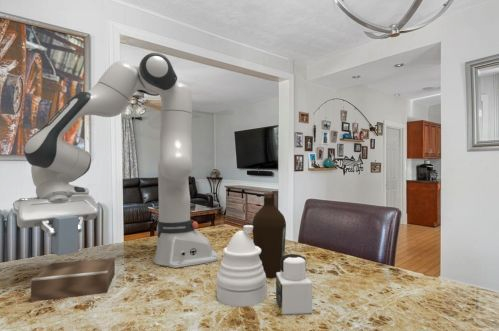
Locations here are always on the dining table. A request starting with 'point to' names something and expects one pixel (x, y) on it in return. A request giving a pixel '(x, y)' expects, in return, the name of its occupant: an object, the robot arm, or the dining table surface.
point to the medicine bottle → (293, 286)
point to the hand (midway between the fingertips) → (66, 233)
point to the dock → (73, 279)
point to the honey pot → (241, 272)
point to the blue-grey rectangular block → (65, 235)
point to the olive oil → (270, 235)
